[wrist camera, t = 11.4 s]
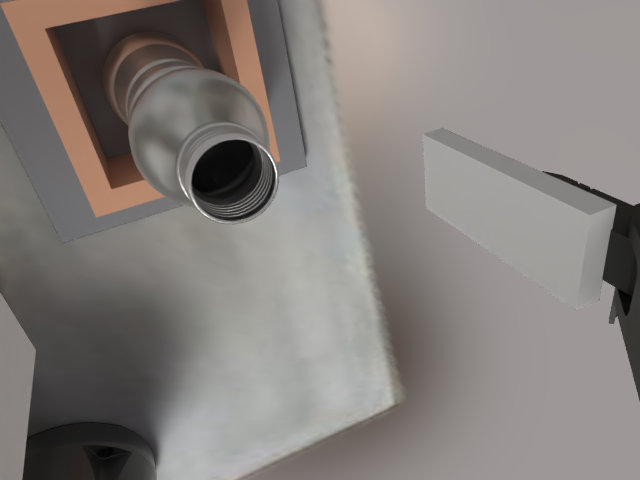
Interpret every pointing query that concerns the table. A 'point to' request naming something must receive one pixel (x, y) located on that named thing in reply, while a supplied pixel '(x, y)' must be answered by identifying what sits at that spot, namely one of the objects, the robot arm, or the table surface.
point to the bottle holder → (96, 113)
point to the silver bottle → (191, 128)
